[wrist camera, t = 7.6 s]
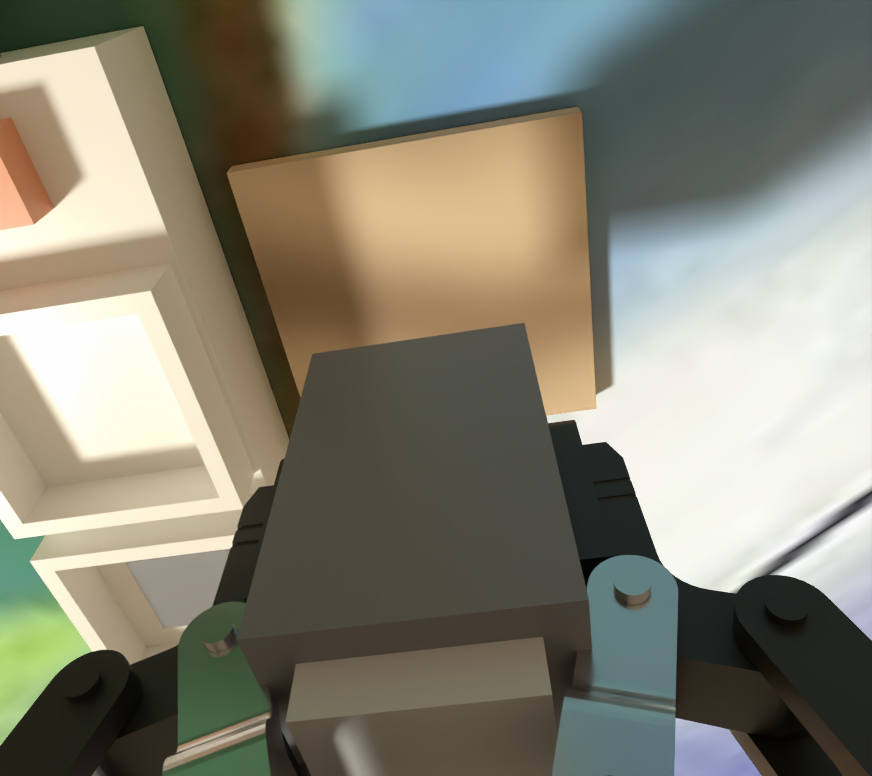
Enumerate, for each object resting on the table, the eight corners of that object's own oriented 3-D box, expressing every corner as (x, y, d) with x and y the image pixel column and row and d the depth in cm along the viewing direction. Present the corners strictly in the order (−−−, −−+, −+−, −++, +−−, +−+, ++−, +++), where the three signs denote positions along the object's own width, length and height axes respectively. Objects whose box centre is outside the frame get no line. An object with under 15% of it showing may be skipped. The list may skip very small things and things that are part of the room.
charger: (312, 354, 15) (220, 697, 8) (524, 322, 14) (602, 656, 8) (359, 509, 17) (317, 870, 11) (541, 485, 17) (613, 845, 10)
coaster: (231, 166, 19) (226, 173, 18) (578, 106, 18) (582, 112, 17) (318, 435, 24) (316, 447, 23) (592, 397, 23) (596, 408, 22)
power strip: (-245, -121, 15) (-463, -130, 11) (67, -189, 15) (-56, -222, 11) (170, 610, 28) (131, 716, 25) (342, 589, 28) (329, 695, 24)
